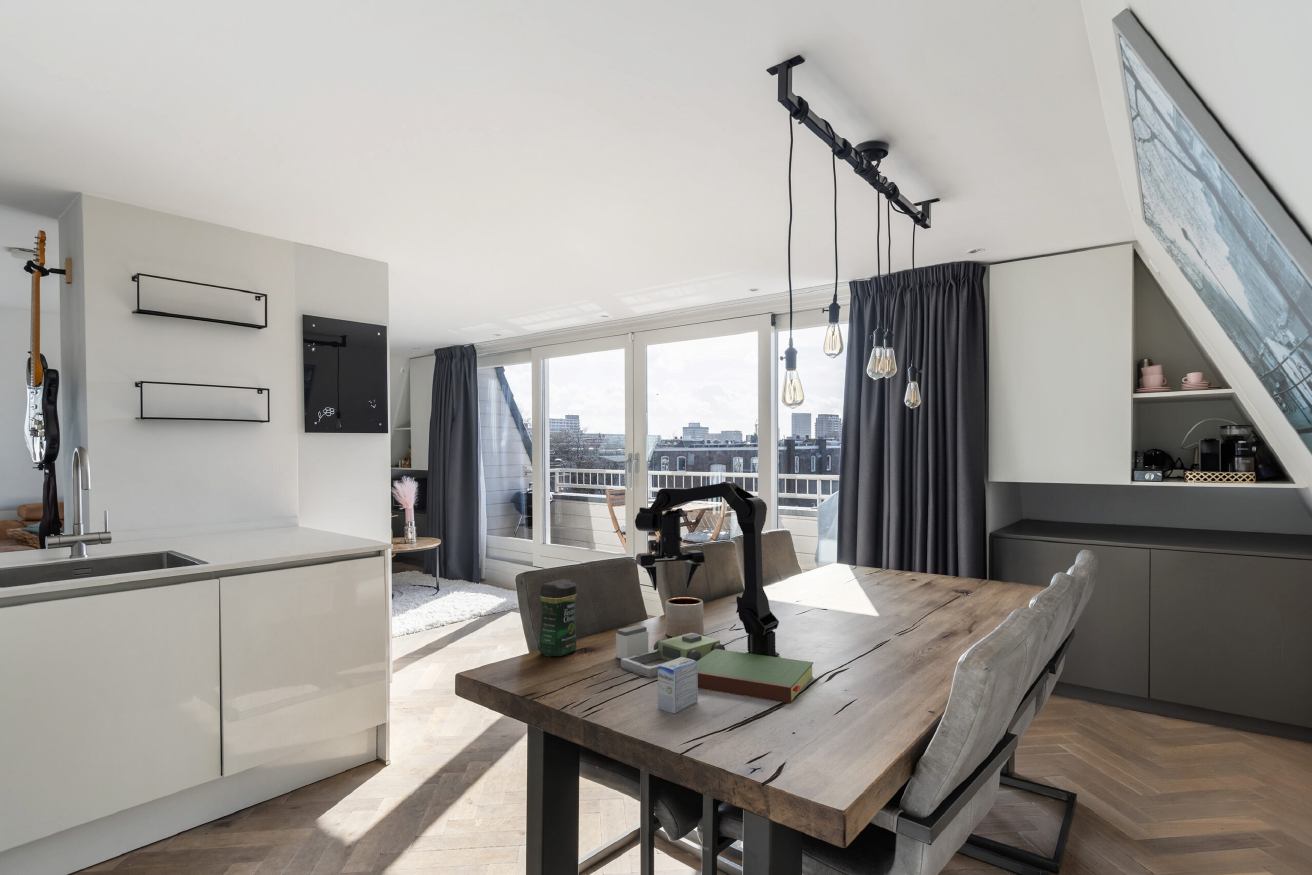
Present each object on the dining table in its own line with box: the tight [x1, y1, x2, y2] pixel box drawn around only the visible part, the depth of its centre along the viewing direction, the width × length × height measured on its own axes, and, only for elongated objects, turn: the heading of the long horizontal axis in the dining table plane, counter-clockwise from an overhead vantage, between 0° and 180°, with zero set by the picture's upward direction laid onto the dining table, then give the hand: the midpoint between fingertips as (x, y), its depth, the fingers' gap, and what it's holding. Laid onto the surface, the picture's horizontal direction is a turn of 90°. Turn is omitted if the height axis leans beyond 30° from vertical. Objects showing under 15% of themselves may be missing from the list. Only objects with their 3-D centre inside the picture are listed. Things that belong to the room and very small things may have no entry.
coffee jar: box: [538, 578, 577, 658], centre depth 172 cm, size 10×8×19 cm
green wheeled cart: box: [653, 633, 726, 662], centre depth 167 cm, size 13×12×5 cm
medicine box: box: [657, 657, 699, 714], centre depth 134 cm, size 8×4×9 cm, turn 141°
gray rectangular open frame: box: [620, 649, 669, 679], centre depth 159 cm, size 10×12×2 cm
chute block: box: [615, 624, 649, 660], centre depth 168 cm, size 4×7×7 cm, turn 132°
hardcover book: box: [697, 649, 814, 704], centre depth 148 cm, size 25×19×4 cm
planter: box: [665, 596, 705, 638], centre depth 188 cm, size 11×11×10 cm
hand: (670, 589), depth 183 cm, fingers open, 9 cm apart
